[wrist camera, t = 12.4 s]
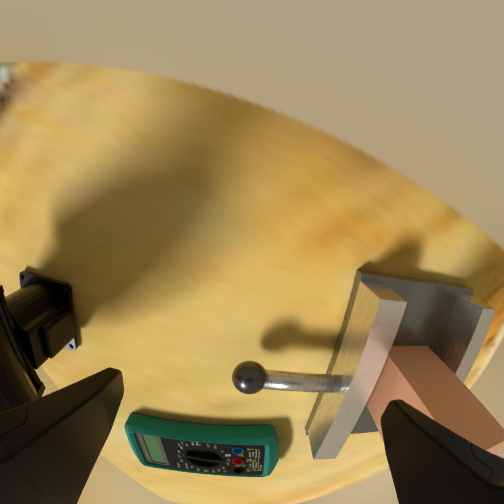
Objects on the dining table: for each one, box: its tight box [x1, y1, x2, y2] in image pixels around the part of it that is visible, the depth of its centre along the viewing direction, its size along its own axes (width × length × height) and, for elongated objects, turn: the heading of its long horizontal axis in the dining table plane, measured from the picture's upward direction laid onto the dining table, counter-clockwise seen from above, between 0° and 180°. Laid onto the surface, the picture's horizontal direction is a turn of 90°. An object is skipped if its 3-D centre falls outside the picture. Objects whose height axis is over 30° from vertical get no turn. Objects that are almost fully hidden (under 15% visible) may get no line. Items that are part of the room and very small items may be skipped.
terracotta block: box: [366, 346, 504, 455], centre depth 14 cm, size 5×5×12 cm
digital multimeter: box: [125, 413, 279, 477], centre depth 22 cm, size 7×15×3 cm, turn 89°
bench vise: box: [232, 270, 496, 459], centre depth 19 cm, size 20×16×4 cm
